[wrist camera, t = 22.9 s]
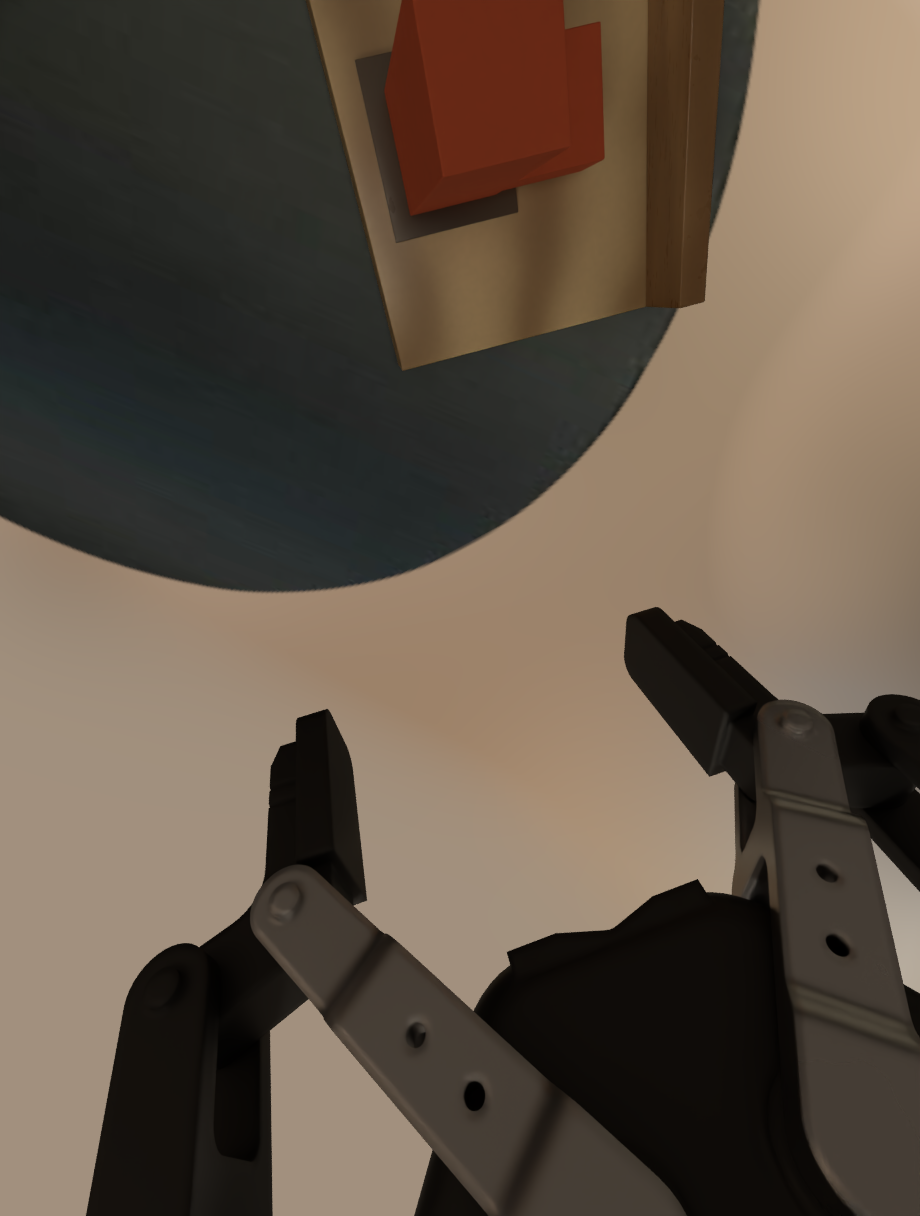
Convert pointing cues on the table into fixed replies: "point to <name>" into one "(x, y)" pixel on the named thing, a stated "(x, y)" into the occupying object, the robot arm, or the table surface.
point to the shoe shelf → (540, 187)
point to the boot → (491, 97)
